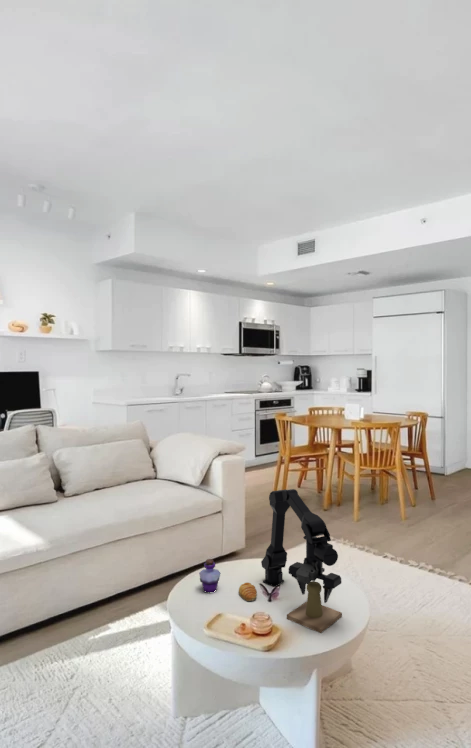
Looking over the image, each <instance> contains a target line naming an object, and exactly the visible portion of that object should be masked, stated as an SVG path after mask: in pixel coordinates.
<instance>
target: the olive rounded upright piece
mask: <svg viewBox="0 0 471 748" xmlns="http://www.w3.org/2000/svg"><path fill="white" fill-rule="evenodd" d="M306 591H307V600H306V602H307V606H306V615H307V616H309V617H311V618H319V617H321V616H322V615H323V612H322V598H321V592H322V585H321V584H320V582H318V581H316V580H315V581H311V582H310V583H309V584H306Z"/></svg>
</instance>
